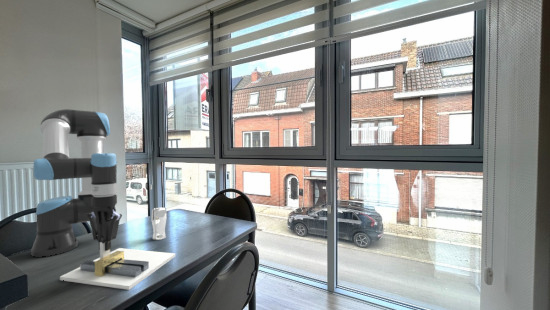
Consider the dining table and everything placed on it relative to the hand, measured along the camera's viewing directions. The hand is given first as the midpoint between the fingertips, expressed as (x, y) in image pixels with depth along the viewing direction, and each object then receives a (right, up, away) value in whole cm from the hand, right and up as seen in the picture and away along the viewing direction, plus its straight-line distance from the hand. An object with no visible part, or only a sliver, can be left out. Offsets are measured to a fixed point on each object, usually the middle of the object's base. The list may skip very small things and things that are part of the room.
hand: (105, 258), depth 85 cm
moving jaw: (+8, -4, +1) cm, 9 cm away
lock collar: (+2, -4, 0) cm, 4 cm away
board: (+4, -5, +4) cm, 8 cm away
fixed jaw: (+3, -4, -2) cm, 5 cm away
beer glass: (+3, -5, +34) cm, 34 cm away
